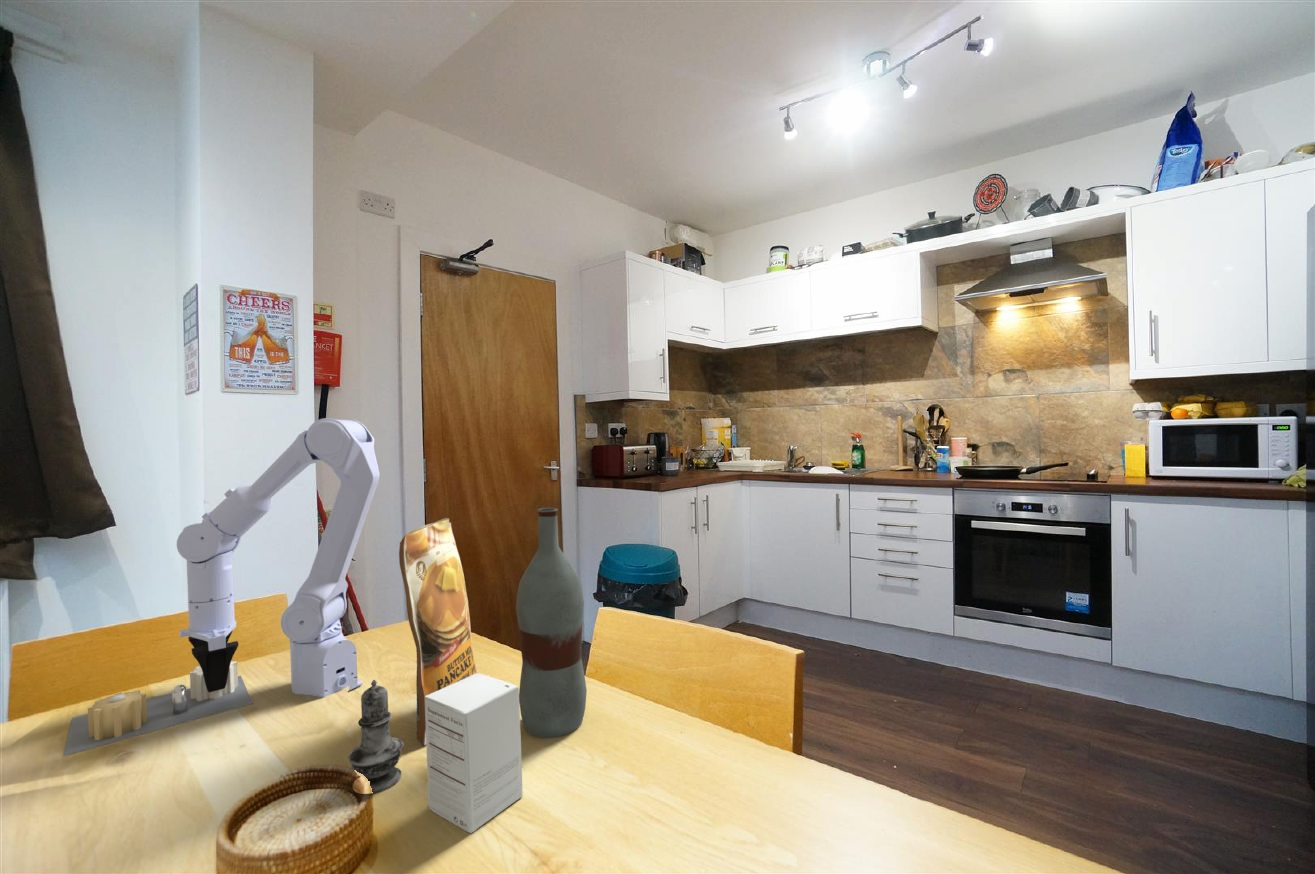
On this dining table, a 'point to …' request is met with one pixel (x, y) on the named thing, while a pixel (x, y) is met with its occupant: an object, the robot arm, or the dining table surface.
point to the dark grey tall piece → (377, 742)
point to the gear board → (159, 717)
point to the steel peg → (179, 699)
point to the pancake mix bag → (436, 611)
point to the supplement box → (473, 750)
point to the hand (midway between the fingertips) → (214, 683)
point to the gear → (199, 684)
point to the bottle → (551, 638)
